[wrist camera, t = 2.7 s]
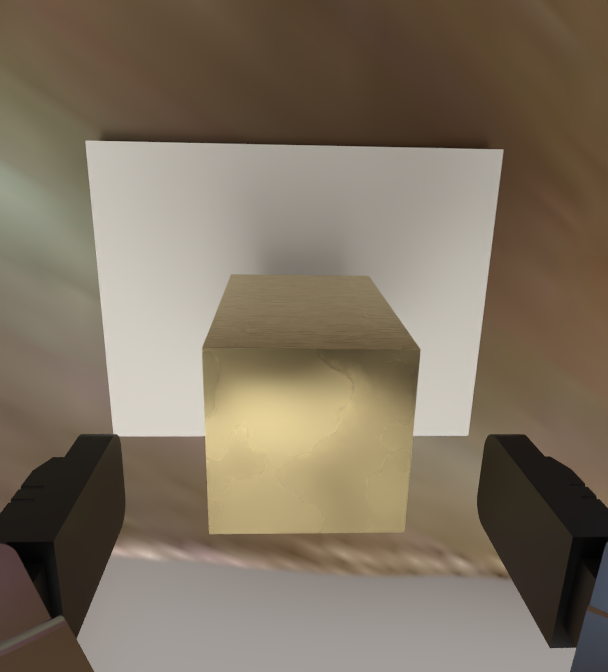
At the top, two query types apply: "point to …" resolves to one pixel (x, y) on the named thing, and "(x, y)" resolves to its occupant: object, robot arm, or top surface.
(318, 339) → the gold rectangular block
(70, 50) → the top surface
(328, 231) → the base board
